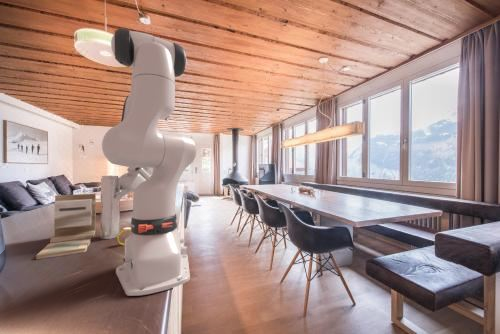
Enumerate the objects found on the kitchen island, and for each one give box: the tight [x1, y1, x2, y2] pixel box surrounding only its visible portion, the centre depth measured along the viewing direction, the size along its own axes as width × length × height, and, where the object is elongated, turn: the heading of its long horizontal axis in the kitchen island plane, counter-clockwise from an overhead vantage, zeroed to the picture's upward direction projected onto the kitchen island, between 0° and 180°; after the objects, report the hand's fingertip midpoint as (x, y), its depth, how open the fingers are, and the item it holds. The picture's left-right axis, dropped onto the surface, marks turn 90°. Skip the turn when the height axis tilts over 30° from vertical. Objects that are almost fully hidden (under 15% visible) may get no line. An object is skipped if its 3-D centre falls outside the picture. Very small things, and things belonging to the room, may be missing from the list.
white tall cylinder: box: [100, 175, 121, 240], centre depth 87 cm, size 6×6×25 cm
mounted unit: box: [49, 193, 97, 244], centre depth 86 cm, size 7×13×17 cm, turn 120°
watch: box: [116, 226, 131, 246], centre depth 79 cm, size 6×3×6 cm, turn 129°
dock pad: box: [35, 238, 92, 260], centre depth 73 cm, size 12×12×1 cm
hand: (113, 196), depth 88 cm, fingers open, 8 cm apart
